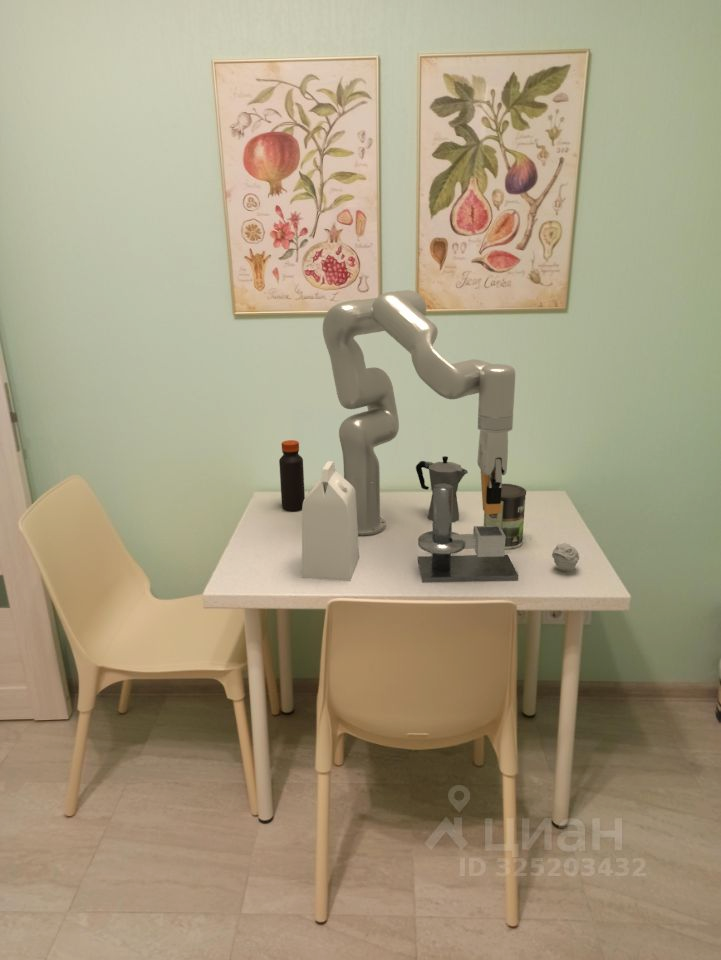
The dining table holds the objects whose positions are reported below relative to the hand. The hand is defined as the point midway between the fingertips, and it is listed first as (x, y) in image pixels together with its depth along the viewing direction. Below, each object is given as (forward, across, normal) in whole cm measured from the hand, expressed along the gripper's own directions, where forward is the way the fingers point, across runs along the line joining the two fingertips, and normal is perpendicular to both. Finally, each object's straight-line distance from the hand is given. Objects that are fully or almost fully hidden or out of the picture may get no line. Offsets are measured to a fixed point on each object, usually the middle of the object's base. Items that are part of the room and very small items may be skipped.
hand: (491, 499), depth 155 cm
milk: (+18, -3, -37) cm, 41 cm away
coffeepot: (+18, -33, -7) cm, 38 cm away
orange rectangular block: (+3, 0, 0) cm, 3 cm away
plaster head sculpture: (+18, +1, +18) cm, 26 cm away
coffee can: (+18, -16, +7) cm, 25 cm away
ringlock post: (+18, 0, -5) cm, 19 cm away
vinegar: (+18, -42, -49) cm, 67 cm away
